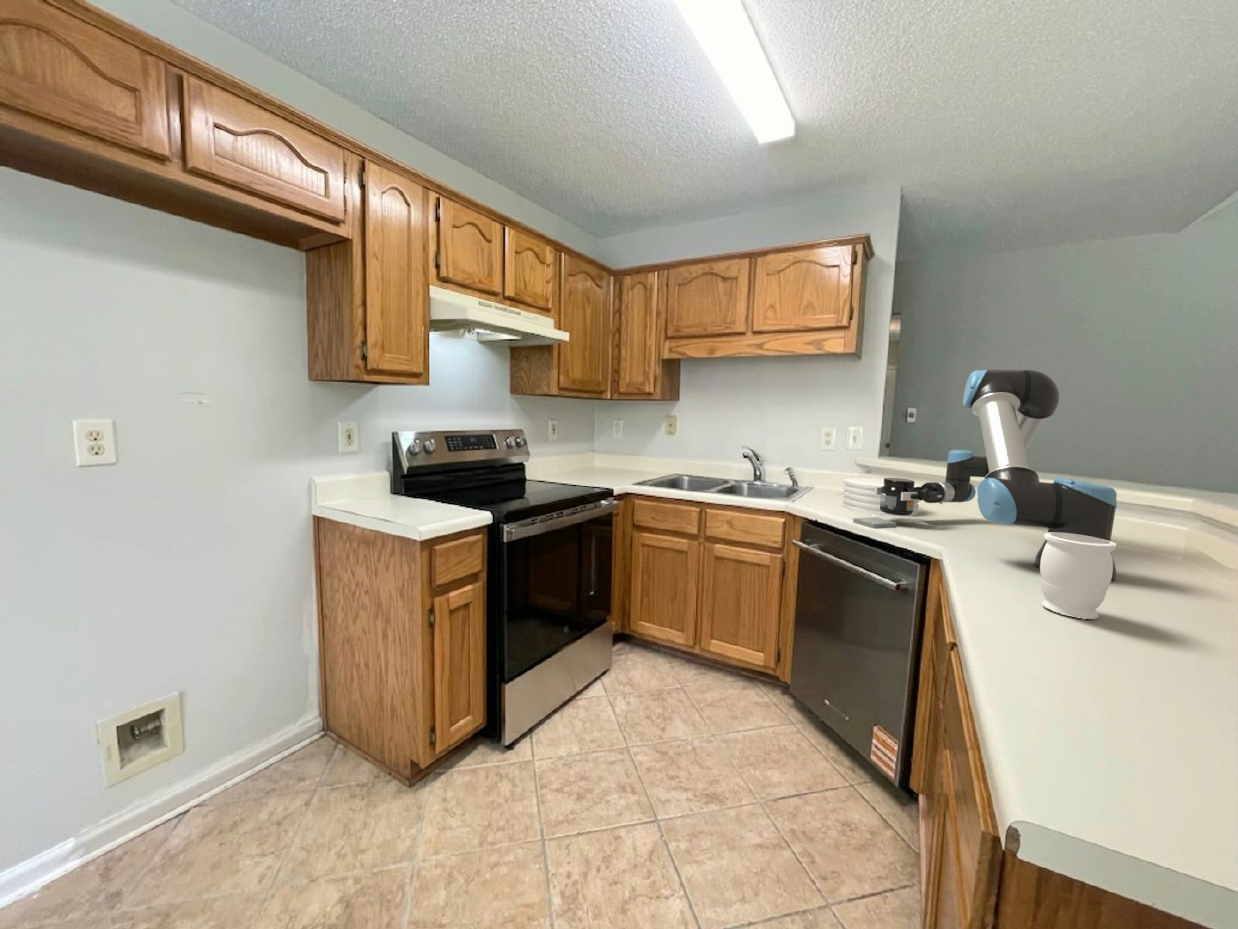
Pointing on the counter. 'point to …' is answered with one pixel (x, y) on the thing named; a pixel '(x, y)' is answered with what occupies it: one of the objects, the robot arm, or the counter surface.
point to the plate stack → (867, 496)
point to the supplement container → (896, 496)
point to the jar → (1075, 573)
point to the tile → (874, 522)
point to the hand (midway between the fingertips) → (888, 493)
